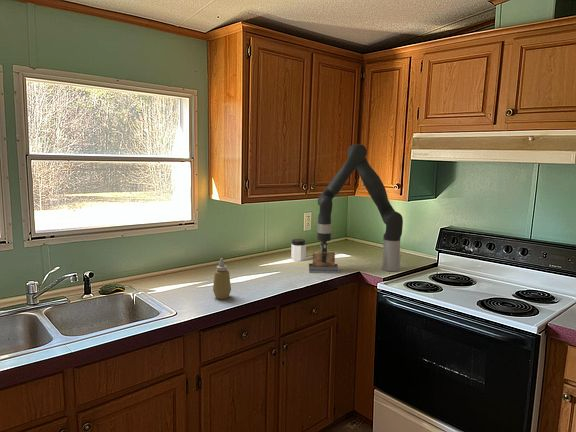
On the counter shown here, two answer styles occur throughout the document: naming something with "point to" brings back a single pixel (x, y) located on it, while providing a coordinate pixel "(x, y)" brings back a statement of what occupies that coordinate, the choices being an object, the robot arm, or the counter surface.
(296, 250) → the jar
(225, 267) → the squeeze bottle
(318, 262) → the door panel
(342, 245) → the counter surface
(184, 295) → the counter surface
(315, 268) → the floor track
